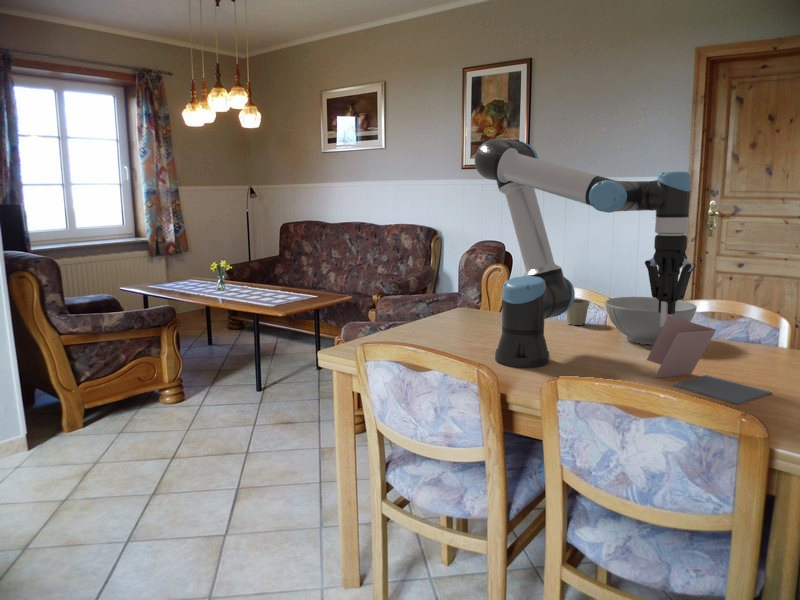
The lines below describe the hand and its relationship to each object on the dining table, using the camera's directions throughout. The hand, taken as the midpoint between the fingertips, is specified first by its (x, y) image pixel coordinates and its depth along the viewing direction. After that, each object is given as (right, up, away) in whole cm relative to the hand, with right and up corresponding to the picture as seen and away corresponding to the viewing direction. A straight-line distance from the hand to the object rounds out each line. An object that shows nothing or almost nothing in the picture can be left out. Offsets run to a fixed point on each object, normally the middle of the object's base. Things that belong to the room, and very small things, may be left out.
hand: (665, 326), depth 153 cm
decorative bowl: (+11, -6, +38) cm, 40 cm away
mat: (+8, -15, -11) cm, 20 cm away
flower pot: (-4, -2, +63) cm, 63 cm away
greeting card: (+1, -12, +1) cm, 13 cm away
